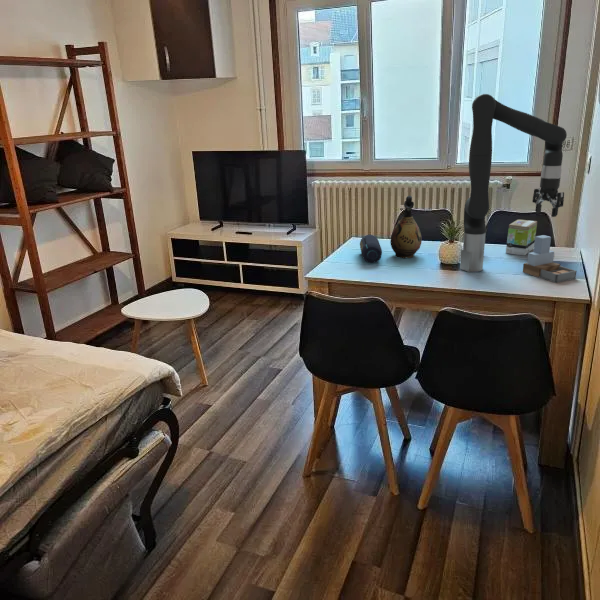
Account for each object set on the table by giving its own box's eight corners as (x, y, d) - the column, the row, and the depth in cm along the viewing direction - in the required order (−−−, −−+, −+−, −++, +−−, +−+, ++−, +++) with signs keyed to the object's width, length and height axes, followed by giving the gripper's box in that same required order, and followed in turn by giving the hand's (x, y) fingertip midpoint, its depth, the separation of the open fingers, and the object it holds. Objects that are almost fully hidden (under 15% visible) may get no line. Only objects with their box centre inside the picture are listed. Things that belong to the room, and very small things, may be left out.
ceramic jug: (421, 260, 260) (424, 199, 250) (390, 260, 263) (391, 199, 252) (420, 251, 276) (422, 193, 265) (390, 251, 278) (391, 193, 268)
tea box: (525, 256, 259) (529, 226, 254) (505, 253, 265) (507, 224, 260) (534, 248, 270) (537, 220, 265) (514, 246, 276) (517, 218, 271)
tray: (556, 282, 221) (557, 274, 220) (540, 277, 228) (541, 269, 227) (575, 278, 225) (576, 270, 224) (559, 273, 232) (560, 265, 231)
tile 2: (556, 271, 227) (555, 275, 228) (564, 273, 224) (563, 278, 224) (563, 269, 229) (562, 274, 229) (571, 272, 225) (570, 276, 226)
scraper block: (534, 266, 230) (537, 239, 226) (527, 263, 234) (529, 237, 230) (553, 262, 234) (556, 235, 230) (545, 260, 238) (549, 234, 234)
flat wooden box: (538, 277, 229) (539, 268, 227) (522, 271, 236) (523, 263, 235) (559, 273, 233) (560, 264, 231) (543, 267, 241) (544, 259, 239)
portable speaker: (359, 251, 281) (359, 233, 277) (378, 251, 280) (378, 232, 276) (362, 265, 257) (362, 245, 254) (382, 264, 256) (382, 244, 253)
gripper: (530, 175, 226) (526, 213, 231) (557, 179, 213) (552, 218, 219) (544, 173, 228) (539, 211, 234) (571, 177, 216) (566, 216, 222)
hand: (545, 214), depth 226 cm, fingers open, 8 cm apart
